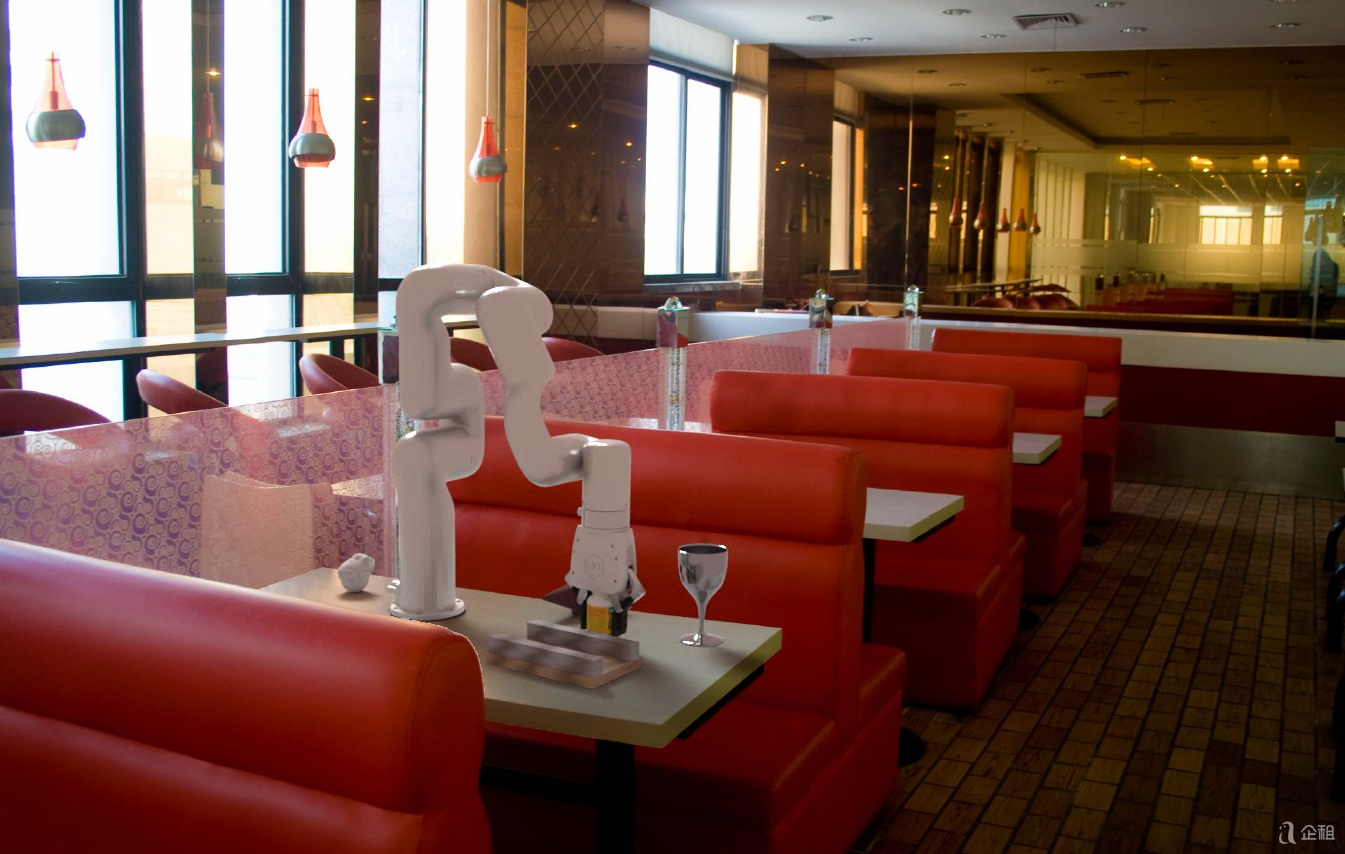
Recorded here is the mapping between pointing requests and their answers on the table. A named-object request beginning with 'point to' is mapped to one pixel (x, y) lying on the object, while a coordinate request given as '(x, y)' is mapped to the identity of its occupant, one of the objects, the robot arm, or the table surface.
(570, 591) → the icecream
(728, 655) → the table surface
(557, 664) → the sliding track
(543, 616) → the table surface
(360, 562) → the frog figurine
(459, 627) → the table surface
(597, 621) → the supplement bottle
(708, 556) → the wine glass
